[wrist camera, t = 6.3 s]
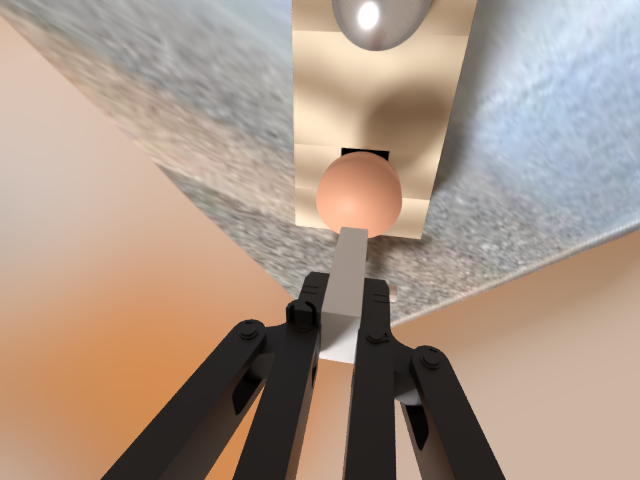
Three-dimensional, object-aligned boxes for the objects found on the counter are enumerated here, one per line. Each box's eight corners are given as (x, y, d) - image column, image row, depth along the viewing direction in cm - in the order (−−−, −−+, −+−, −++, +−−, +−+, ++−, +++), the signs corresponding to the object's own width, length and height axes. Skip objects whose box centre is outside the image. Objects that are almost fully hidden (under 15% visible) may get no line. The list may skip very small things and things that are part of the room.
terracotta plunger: (332, 129, 27) (316, 157, 21) (403, 134, 26) (409, 164, 20) (329, 193, 30) (315, 234, 24) (392, 200, 30) (394, 243, 23)
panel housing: (310, -100, 23) (289, -138, 18) (482, -104, 21) (512, -146, 17) (307, 199, 36) (295, 225, 31) (415, 210, 35) (420, 239, 30)
